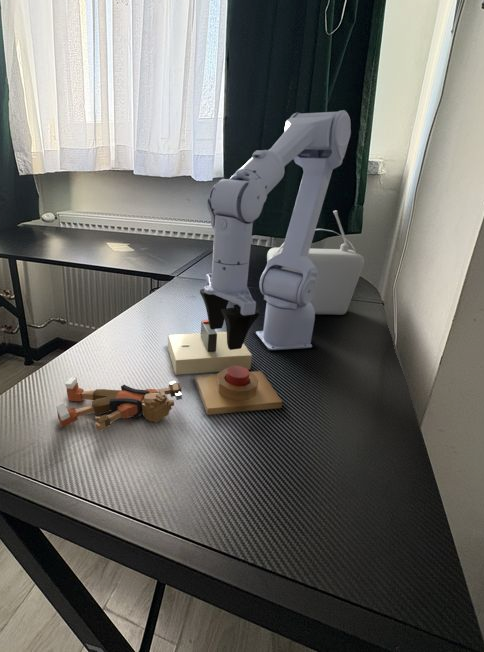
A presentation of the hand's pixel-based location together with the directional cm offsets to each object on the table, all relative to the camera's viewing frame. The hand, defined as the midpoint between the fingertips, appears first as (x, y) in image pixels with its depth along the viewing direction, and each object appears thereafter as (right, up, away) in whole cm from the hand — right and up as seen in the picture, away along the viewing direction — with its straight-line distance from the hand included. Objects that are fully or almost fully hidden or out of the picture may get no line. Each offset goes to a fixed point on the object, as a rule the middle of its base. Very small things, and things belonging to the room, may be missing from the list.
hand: (224, 337), depth 64 cm
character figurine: (-17, -11, -7) cm, 21 cm away
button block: (+2, -9, -2) cm, 10 cm away
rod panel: (-2, -5, +9) cm, 10 cm away
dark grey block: (-2, -2, +8) cm, 8 cm away
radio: (+25, +4, +33) cm, 41 cm away
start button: (+2, -7, -3) cm, 8 cm away
